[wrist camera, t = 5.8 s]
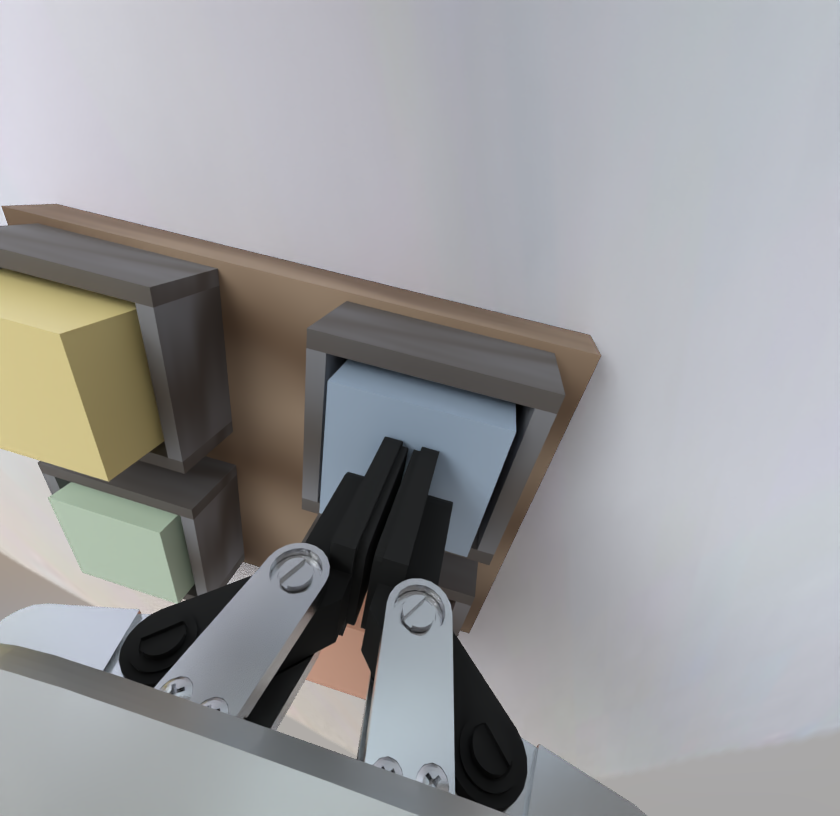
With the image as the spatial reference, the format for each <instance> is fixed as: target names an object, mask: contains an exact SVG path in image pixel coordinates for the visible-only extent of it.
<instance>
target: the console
mask: <svg viewBox="0 0 840 816" xmlns="http://www.w3.org/2000/svg"><path fill="white" fill-rule="evenodd" d="M2 209H3V212H4V215H5V218H6V220H7V223H8V226H0V269H2V268H5V269H9V270H13V271H17V272H20V273H24V274H28V275H32V276H36V277H39V278H43V279H47V280H51V281H55V282H58V283H62V284H66V285H70V286H73V287H77V288H81V289H85V290H89V291H92V292H96V293H100V294H104V295H107V296H111V297H115V298H119V299H123V300H126V301H130V302H134V303H135V305H136V310H137V315H138V319H139V324H140V329H141V333H142V338H143V343H144V347H145V352H146V357H147V361H148V366H149V371H150V375H151V380H152V385H153V390H154V394H155V399H156V404H157V408H158V413H159V418H160V422H161V427H162V432H163V436H164V442H162V443H161V444H160V445H158V446H157V447H156V448H154V449H153V450H151V451H150V452H149V453H147V454H146V455H145V456H143V457H142V458H140V459H139V460H138V461H136V462H135V463H134V464H132V465H131V466H129V467H128V468H127V469H125V470H124V471H123V472H121V473H120V474H119V475H117V476H116V477H114V478H113V479H112V480H110V481H109V482H108V481H105V480H102V479H98V478H95V477H92V476H89V475H85V474H82V473H79V472H76V471H72V470H69V469H66V468H63V467H59V466H56V465H53V464H50V463H46V462H43V461H39V462H38V465H39V467H40V469H41V471H42V473H43V476H44V478H45V480H46V482H47V485H48V487H49V489H50V491H51V493H52V495H53V494H54V493H56V492H57V491H59V490H60V489H62V488H63V487H65V486H66V485H68V484H69V483H71V482H73V483H76V484H80V485H83V486H86V487H89V488H92V489H96V490H99V491H102V492H105V493H109V494H112V495H115V496H118V497H121V498H125V499H128V500H131V501H134V502H138V503H141V504H144V505H147V506H150V507H154V508H157V509H160V510H163V511H167V512H170V513H173V514H176V515H179V516H181V521H182V525H183V530H184V535H185V540H186V544H187V549H188V554H189V558H190V563H191V568H192V572H193V577H194V582H195V584H194V585H193V587H192V588H191V589H190V590H189V592H188V593H187V594H186V595H185V597H184V598H183V599H185V600H188V599H191V598H193V597H196V596H199V595H201V594H204V593H207V592H209V591H212V590H215V589H217V588H220V587H223V586H225V585H227V583H228V582H229V580H230V579H231V578H232V576H233V575H234V574H235V572H236V571H237V569H238V568H239V567H240V565H241V564H242V562H245V563H249V564H252V565H255V566H258V567H260V566H261V565H262V564H263V563H264V562H265V561H266V560H267V559H268V557H269V556H270V555H272V554H273V553H274V552H275V551H276V550H278V549H280V548H282V547H284V546H286V545H289V544H294V543H305V542H306V540H307V538H308V537H309V535H310V533H311V532H312V530H313V528H314V526H315V525H316V523H317V521H318V520H319V518H320V516H321V513H319V509H320V494H321V478H322V462H323V447H324V431H325V415H326V400H327V384H328V380H329V379H330V378H331V377H332V376H333V375H334V374H335V373H336V372H337V370H338V369H339V368H340V367H341V366H342V365H343V364H344V363H345V362H346V361H347V360H348V359H350V360H353V361H357V362H361V363H365V364H369V365H372V366H376V367H380V368H384V369H388V370H391V371H395V372H399V373H403V374H406V375H410V376H414V377H418V378H422V379H425V380H429V381H433V382H437V383H441V384H444V385H448V386H452V387H456V388H459V389H463V390H467V391H471V392H475V393H478V394H482V395H486V396H490V397H493V398H497V399H501V400H505V401H509V402H512V403H516V434H515V436H514V439H513V441H512V444H511V446H510V449H509V451H508V454H507V457H506V459H505V462H504V464H503V467H502V469H501V472H500V474H499V477H498V480H497V482H496V485H495V487H494V490H493V492H492V495H491V497H490V500H489V502H488V505H487V508H486V510H485V513H484V515H483V518H482V520H481V523H480V525H479V528H478V531H477V533H476V536H475V538H474V541H473V543H472V546H471V548H470V551H469V553H468V556H467V557H464V556H461V555H458V554H454V553H451V552H448V551H444V556H443V561H442V567H441V572H440V578H439V583H438V587H440V588H441V590H442V591H443V592H444V593H445V594H446V596H447V598H448V600H449V602H450V604H451V609H452V623H453V632H454V633H455V635H456V636H458V634H459V632H460V631H463V632H467V633H469V632H470V630H471V628H472V626H473V624H474V622H475V620H476V618H477V616H478V614H479V611H480V609H481V607H482V605H483V603H484V601H485V599H486V597H487V595H488V593H489V590H490V588H491V586H492V584H493V582H494V580H495V578H496V576H497V574H498V571H499V569H500V567H501V565H502V563H503V561H504V559H505V557H506V555H507V553H508V550H509V548H510V546H511V544H512V542H513V540H514V538H515V536H516V534H517V532H518V529H519V527H520V525H521V523H522V521H523V519H524V517H525V515H526V513H527V511H528V508H529V506H530V504H531V502H532V500H533V498H534V496H535V494H536V492H537V489H538V487H539V485H540V483H541V481H542V479H543V477H544V475H545V473H546V471H547V468H548V466H549V464H550V462H551V460H552V458H553V456H554V454H555V452H556V450H557V447H558V445H559V443H560V441H561V439H562V437H563V435H564V433H565V431H566V429H567V426H568V424H569V422H570V420H571V418H572V416H573V414H574V412H575V410H576V407H577V405H578V403H579V401H580V399H581V397H582V395H583V393H584V391H585V389H586V386H587V384H588V382H589V380H590V378H591V376H592V374H593V372H594V370H595V368H596V365H597V363H598V361H599V359H600V357H601V354H600V352H599V351H598V349H597V347H596V345H595V343H594V341H593V339H592V338H591V336H590V335H587V334H583V333H579V332H575V331H571V330H567V329H563V328H559V327H555V326H551V325H547V324H543V323H539V322H535V321H530V320H526V319H522V318H518V317H514V316H510V315H506V314H502V313H498V312H494V311H490V310H486V309H482V308H478V307H473V306H469V305H465V304H461V303H457V302H453V301H449V300H445V299H441V298H437V297H433V296H429V295H425V294H421V293H417V292H412V291H408V290H404V289H400V288H396V287H392V286H388V285H384V284H380V283H376V282H372V281H368V280H364V279H360V278H356V277H351V276H347V275H343V274H339V273H335V272H331V271H327V270H323V269H319V268H315V267H311V266H307V265H303V264H299V263H295V262H290V261H286V260H282V259H278V258H274V257H270V256H266V255H262V254H258V253H254V252H250V251H246V250H242V249H238V248H233V247H229V246H225V245H221V244H217V243H213V242H209V241H205V240H201V239H197V238H193V237H189V236H185V235H181V234H177V233H172V232H168V231H164V230H160V229H156V228H152V227H148V226H144V225H140V224H136V223H132V222H128V221H124V220H120V219H116V218H111V217H107V216H103V215H99V214H95V213H91V212H87V211H83V210H79V209H75V208H71V207H67V206H63V205H59V204H42V205H14V206H2Z"/></svg>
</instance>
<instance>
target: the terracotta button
mask: <svg viewBox="0 0 840 816" xmlns="http://www.w3.org/2000/svg"><path fill="white" fill-rule="evenodd" d="M367 591H368V590H367ZM366 596H367V593H366ZM366 596H365V599H364V601H363V604H362V607H361V610H360V612H359V615H358V618H357V621H356V623H355V625H351V624H347V626H346V628H345V631H344V634H343V636H340V635H338V638H337V640H336V642H335V643H333V644H331V645H329V646H327V647H326V648H324V649H322V650H321V652H320V654H319V657H318V659H317V660H316V662H315V664H314V666H313V667H312V669H311V671H310V673H309V674H308V676H307V678H306V679H305V680H308V681H311V682H314V683H317V684H320V685H323V686H326V687H329V688H332V689H335V690H338V691H341V692H344V693H347V694H350V695H353V696H356V697H359V698H362V699H365V700H366V695H367V688H368V682H369V675H370V669H369V667H368V665H367V663H366V661H365V658H364V656H363V654H362V652H361V647H362V642H363V637H364V633H365V629H363V628H361V622H362V617H363V612H364V606H365V601H366Z"/></svg>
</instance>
